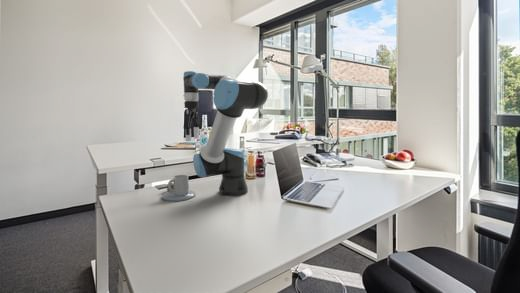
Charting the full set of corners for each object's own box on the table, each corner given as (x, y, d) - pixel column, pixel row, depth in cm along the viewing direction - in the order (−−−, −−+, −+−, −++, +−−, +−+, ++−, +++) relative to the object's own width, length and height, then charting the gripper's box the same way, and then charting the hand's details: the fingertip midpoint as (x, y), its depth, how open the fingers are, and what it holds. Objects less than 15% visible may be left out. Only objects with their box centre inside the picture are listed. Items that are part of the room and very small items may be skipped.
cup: (189, 195, 140) (189, 177, 139) (168, 197, 137) (167, 179, 136) (188, 191, 147) (187, 174, 146) (167, 193, 144) (167, 176, 142)
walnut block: (176, 190, 154) (175, 183, 153) (175, 192, 150) (174, 185, 149) (168, 190, 153) (168, 183, 152) (167, 192, 149) (167, 185, 148)
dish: (199, 192, 150) (199, 189, 150) (189, 201, 134) (188, 199, 134) (170, 191, 151) (169, 189, 151) (156, 200, 135) (156, 198, 135)
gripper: (192, 101, 167) (193, 137, 169) (176, 100, 142) (177, 142, 145) (204, 101, 166) (205, 137, 169) (190, 100, 141) (191, 142, 144)
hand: (192, 139), depth 157 cm, fingers open, 13 cm apart
